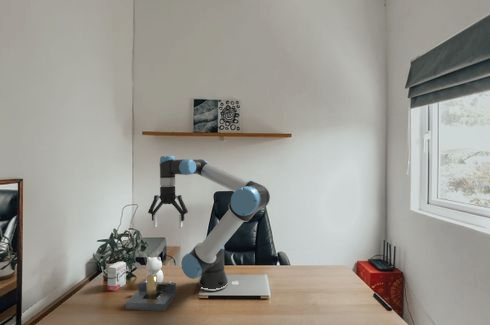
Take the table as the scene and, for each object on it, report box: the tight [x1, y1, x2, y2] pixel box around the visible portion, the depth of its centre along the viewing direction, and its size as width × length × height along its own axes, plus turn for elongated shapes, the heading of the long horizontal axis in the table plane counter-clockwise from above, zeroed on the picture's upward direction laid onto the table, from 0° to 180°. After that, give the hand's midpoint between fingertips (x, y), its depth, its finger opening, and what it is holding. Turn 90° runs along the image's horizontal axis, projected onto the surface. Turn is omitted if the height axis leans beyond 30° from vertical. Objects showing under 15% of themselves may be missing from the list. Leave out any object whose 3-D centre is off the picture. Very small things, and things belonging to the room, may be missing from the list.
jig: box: [124, 279, 177, 312], centre depth 125 cm, size 18×14×7 cm
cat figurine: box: [145, 256, 164, 282], centre depth 145 cm, size 9×12×15 cm
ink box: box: [107, 261, 127, 292], centre depth 141 cm, size 9×5×12 cm, turn 168°
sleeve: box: [147, 274, 157, 299], centre depth 125 cm, size 5×5×12 cm
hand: (168, 227), depth 138 cm, fingers open, 13 cm apart
